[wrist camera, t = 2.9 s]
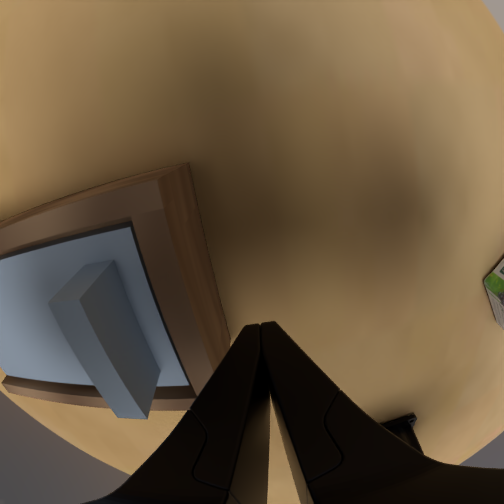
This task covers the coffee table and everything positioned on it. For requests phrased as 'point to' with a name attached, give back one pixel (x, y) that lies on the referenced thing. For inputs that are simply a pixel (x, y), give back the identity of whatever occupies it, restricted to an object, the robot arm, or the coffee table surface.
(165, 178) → the pencil box
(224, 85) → the coffee table surface
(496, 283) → the syrup box
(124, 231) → the cover plate
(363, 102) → the coffee table surface
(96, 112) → the coffee table surface
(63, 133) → the coffee table surface
